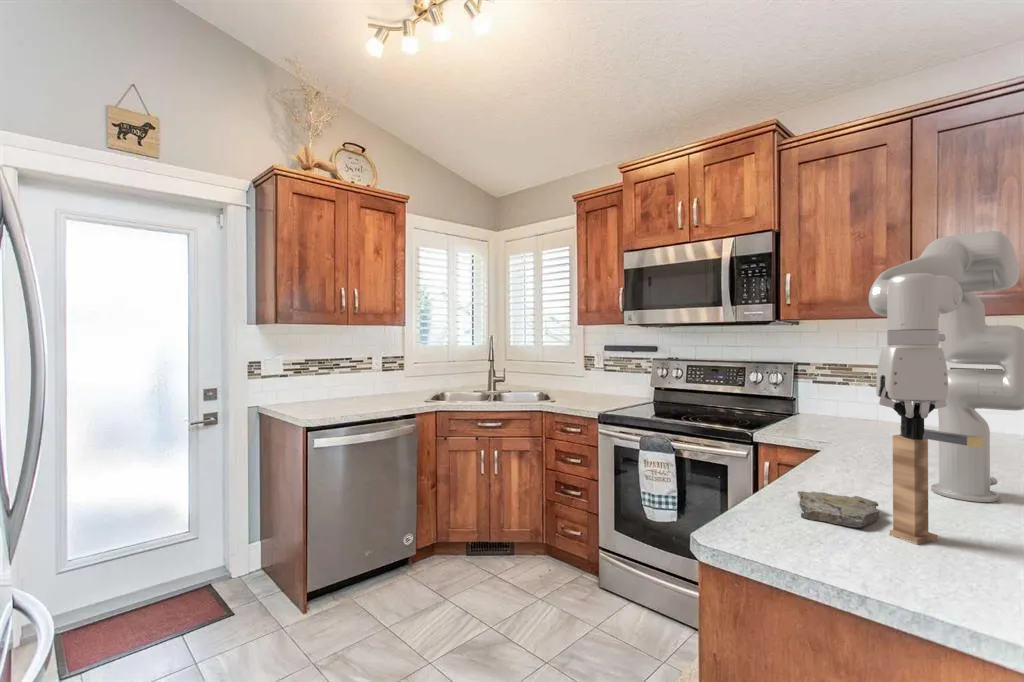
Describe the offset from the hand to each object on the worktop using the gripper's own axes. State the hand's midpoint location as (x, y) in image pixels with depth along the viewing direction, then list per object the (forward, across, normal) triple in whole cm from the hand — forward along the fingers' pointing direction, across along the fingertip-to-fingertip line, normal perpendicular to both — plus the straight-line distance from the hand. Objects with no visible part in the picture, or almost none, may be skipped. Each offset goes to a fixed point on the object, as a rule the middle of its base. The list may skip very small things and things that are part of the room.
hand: (912, 438), depth 93 cm
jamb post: (+21, -4, -7) cm, 22 cm away
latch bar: (+1, -6, -3) cm, 7 cm away
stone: (+21, +4, -18) cm, 28 cm away
